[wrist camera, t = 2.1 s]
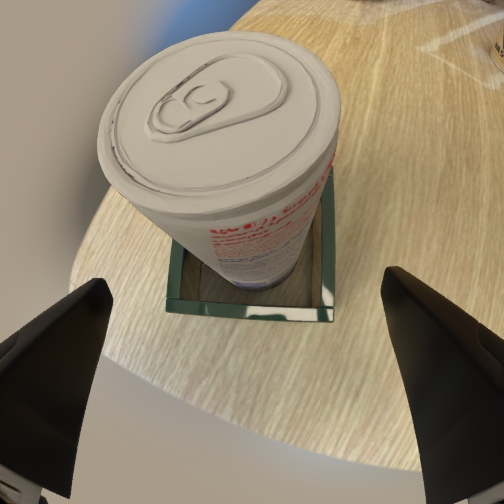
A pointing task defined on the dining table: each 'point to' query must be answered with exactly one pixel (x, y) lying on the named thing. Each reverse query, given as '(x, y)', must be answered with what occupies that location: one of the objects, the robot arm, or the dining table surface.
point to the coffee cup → (499, 50)
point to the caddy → (323, 300)
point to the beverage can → (226, 149)
